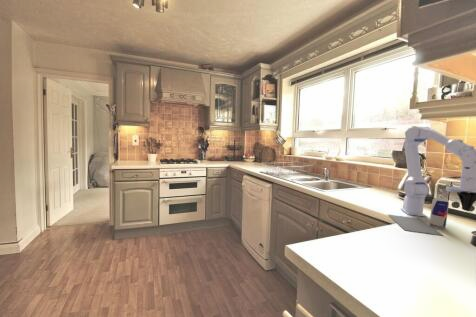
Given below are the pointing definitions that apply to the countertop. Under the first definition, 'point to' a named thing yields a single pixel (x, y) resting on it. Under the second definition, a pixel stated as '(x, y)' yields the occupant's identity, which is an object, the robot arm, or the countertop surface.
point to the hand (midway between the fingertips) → (465, 210)
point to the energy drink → (439, 213)
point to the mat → (414, 225)
